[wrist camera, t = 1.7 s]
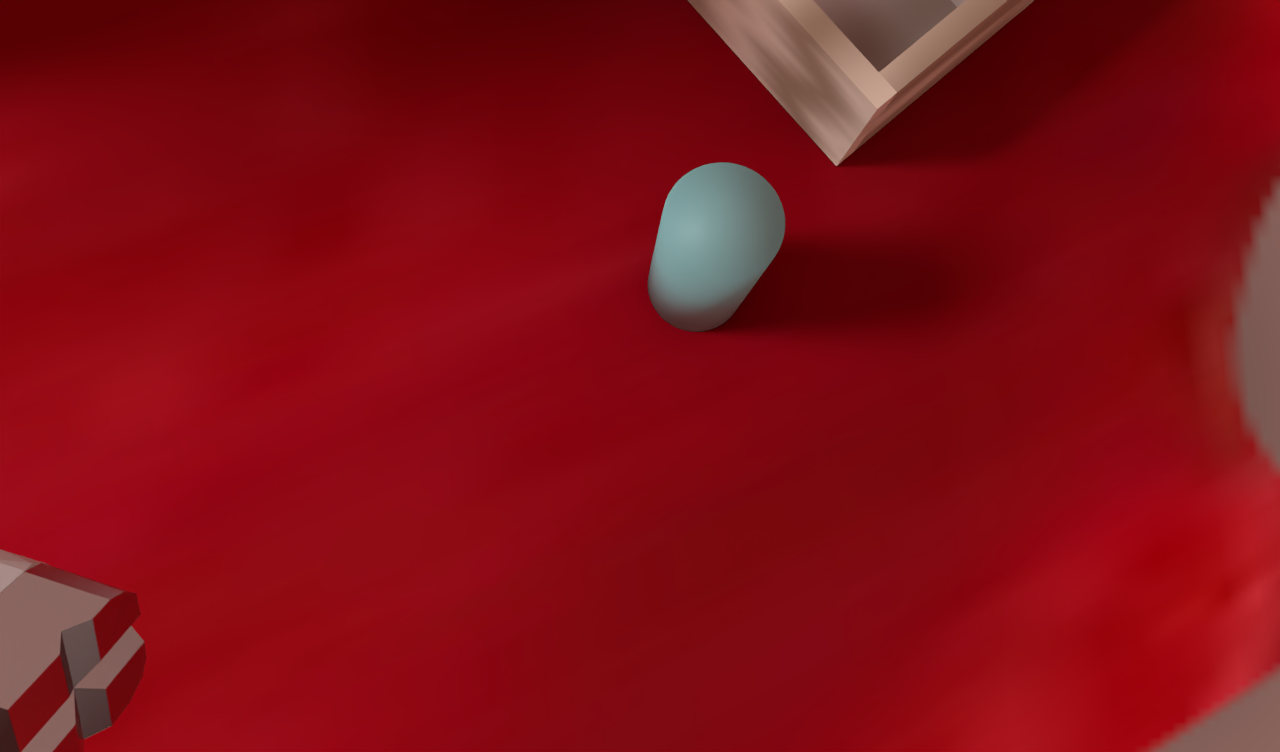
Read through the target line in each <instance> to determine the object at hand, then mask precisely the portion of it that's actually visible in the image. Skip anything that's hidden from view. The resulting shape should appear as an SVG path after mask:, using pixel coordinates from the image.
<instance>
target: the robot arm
mask: <svg viewBox="0 0 1280 752" xmlns="http://www.w3.org/2000/svg"><path fill="white" fill-rule="evenodd" d="M140 615H141V614H140V610H139V605H138V600H137V595H136V594H135V593H132V592H129V591H126V590H123V589H120V588H117V587H114V586H111V585H108V584H105V583H101V582H98V581H95V580H92V579H89V578H86V577H83V576H80V575H77V574H74V573H71V572H68V571H65V570H62V569H59V568H55V567H52V566H49V565H48V564H45V563H42V562H39V561H36V560H33V559H29V558H26V557H23V556H20V555H16V554H13V553H10V552H7V551H4V550H0V752H84V739H85V738H87V737H89V736H92V735H94V734H96V733H98V732H100V731H102V730H104V729H106V728H108V727H110V726H112V725H113V724H114V722H115V721H116V720H117V718H118V717H119V716H120V714H121V713H122V712H123V711H124V709H125V708H126V707H127V705H128V704H129V703H130V701H131V699H132V697H133V695H134V693H135V691H136V689H137V686H138V684H139V682H140V680H141V678H142V676H143V671H144V665H145V660H146V652H145V643H144V641H143V640H142V638H141V637H140V636H139V635H138V634H137V632H136V631H135V630H134V629H133V628H132V626H131V625H132V624H133V623H134V622H135V620H136V619H137V618H138V617H139V616H140Z"/></svg>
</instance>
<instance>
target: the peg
mask: <svg viewBox="0 0 1280 752" xmlns="http://www.w3.org/2000/svg"><path fill="white" fill-rule="evenodd" d="M784 231H785V216H784V210H783V207H782V204H781V201H780V199H779V197H778V195H777V193H776V192H775V190H774V189H773V187H772V186H771V185H770V184H769V183H768V182H767V181H766V180H765V179H764V178H763V177H762V176H761V175H759V174H758V173H756V172H755V171H753V170H751V169H749V168H747V167H744V166H741V165H738V164H733V163H711V164H707V165H703V166H700V167H698V168H695V169H694V170H692V171H690V172H688V173H687V174H686V175H684V176H683V177H682V178H681V179H680V180H679V181H678V182H677V183H676V184H675V185H674V187H673V188H672V190H671V191H670V193H669V195H668V197H667V199H666V201H665V205H664V208H663V213H662V217H661V222H660V226H659V231H658V235H657V240H656V244H655V249H654V253H653V258H652V262H651V267H650V271H649V276H648V292H649V296H650V300H651V302H652V305H653V306H654V308H655V310H656V311H657V312H658V314H659V315H660V316H661V317H662V318H663V319H664V320H665V321H666V322H668V323H669V324H671V325H673V326H674V327H677V328H679V329H682V330H685V331H691V332H701V331H707V330H711V329H714V328H716V327H718V326H720V325H722V324H723V323H725V322H726V321H727V320H728V319H729V318H730V317H731V316H732V315H733V314H734V313H735V311H736V310H737V308H738V307H739V306H740V304H741V303H742V302H743V300H744V299H745V297H746V296H747V295H748V293H749V292H750V290H751V289H752V288H753V286H754V285H755V284H756V282H757V281H758V279H759V278H760V277H761V275H762V274H763V272H764V271H765V270H766V268H767V267H768V266H769V264H770V263H771V261H772V260H773V259H774V257H775V256H776V254H777V252H778V251H779V249H780V246H781V244H782V241H783V237H784Z"/></svg>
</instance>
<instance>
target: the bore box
mask: <svg viewBox="0 0 1280 752" xmlns="http://www.w3.org/2000/svg"><path fill="white" fill-rule="evenodd" d="M1033 1H1034V0H688V2H689V3H690V4H691V5H692V6H693V7H694V8H695V9H696V11H697V12H698V13H699V14H700V15H701V16H702V17H703V18H704V19H705V21H706V22H707V23H708V24H709V25H710V26H711V27H712V28H713V29H714V31H715V32H716V33H717V34H718V35H719V36H720V37H721V38H722V39H723V41H724V42H725V43H726V44H727V45H728V46H729V47H730V48H731V50H732V51H733V52H734V53H735V54H736V55H737V56H738V57H739V58H740V60H741V61H742V62H743V63H744V64H745V65H746V66H747V67H748V68H749V70H750V71H751V72H752V73H753V74H754V75H755V76H756V77H757V78H758V80H759V81H760V82H761V83H762V84H763V85H764V86H765V87H766V88H767V90H768V91H769V92H770V93H771V94H772V95H773V96H774V97H775V99H776V100H777V101H778V102H779V103H780V104H781V105H782V106H783V107H784V109H785V110H786V111H787V112H788V113H789V114H790V115H791V116H792V117H793V119H794V120H795V121H796V122H797V123H798V124H799V125H800V126H801V127H802V129H803V130H804V131H805V132H806V133H807V134H808V135H809V136H810V138H811V139H812V140H813V141H814V142H815V143H816V144H817V145H818V146H819V148H820V149H821V150H822V151H823V152H824V153H825V154H826V155H827V156H828V158H829V159H830V160H831V161H832V162H833V163H834V164H835V165H836V166H838V165H839V164H840V163H841V162H842V161H843V160H845V159H846V158H847V157H848V156H849V155H851V154H852V153H853V152H854V151H855V150H857V149H858V148H859V147H860V146H861V145H863V144H864V143H865V142H866V141H867V140H869V139H870V138H871V137H872V136H873V135H875V134H876V133H877V132H878V131H879V130H880V129H882V128H883V127H884V126H885V125H886V124H888V123H889V122H890V121H891V120H892V119H894V118H895V117H896V116H897V115H898V114H900V113H901V112H902V111H903V110H904V109H906V108H907V107H908V106H909V105H910V104H911V103H913V102H914V101H915V100H916V99H917V98H919V97H920V96H921V95H922V94H923V93H925V92H926V91H927V90H928V89H929V88H931V87H932V86H933V85H934V84H935V83H937V82H938V81H939V80H940V79H941V78H942V77H944V76H945V75H946V74H947V73H948V72H950V71H951V70H952V69H953V68H954V67H956V66H957V65H958V64H959V63H960V62H962V61H963V60H964V59H965V58H966V57H968V56H969V55H970V54H971V53H972V52H974V51H975V50H976V49H977V48H978V47H979V46H981V45H982V44H983V43H984V42H985V41H987V40H988V39H989V38H990V37H991V36H993V35H994V34H995V33H996V32H997V31H999V30H1000V29H1001V28H1002V27H1003V26H1005V25H1006V24H1007V23H1008V22H1009V21H1010V20H1012V19H1013V18H1014V17H1015V16H1016V15H1018V14H1019V13H1020V12H1021V11H1022V10H1024V9H1025V8H1026V7H1027V6H1028V5H1030V4H1031V3H1032V2H1033Z"/></svg>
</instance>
